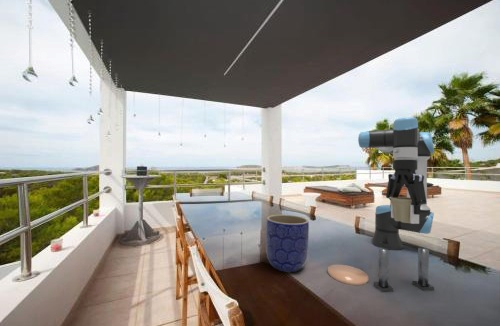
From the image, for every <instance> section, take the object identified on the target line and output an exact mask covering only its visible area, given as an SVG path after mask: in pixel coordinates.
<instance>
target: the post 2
mask: <svg viewBox="0 0 500 326" xmlns="http://www.w3.org/2000/svg"><path fill="white" fill-rule="evenodd" d="M429 272H430V249H428V248H426V247H420V246H419V247H417V280H412V285H414V286H415V287H416V288H418V289H420V290H421V291H425V292H427V291H428V292H429V291H430V292H431V291H435V286H433V285H431V284H430V273H429Z"/></svg>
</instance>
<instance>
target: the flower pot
mask: <svg viewBox="0 0 500 326" xmlns="http://www.w3.org/2000/svg"><path fill="white" fill-rule="evenodd" d="M389 198H390V199H391V202H392V207H393V214H394V220H395V221H401V222H403V223H410V205H411V203H412V200H411V198H408V197H407V196H398V197H389ZM389 198H388V199H389ZM390 199H389V200H390ZM416 201H417V200H416Z"/></svg>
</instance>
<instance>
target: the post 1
mask: <svg viewBox="0 0 500 326" xmlns="http://www.w3.org/2000/svg"><path fill="white" fill-rule="evenodd" d="M389 258H390V249H386V248H381V247H378V261H377V262H378V264H377V265H378V270H377V271H378V272H377V273H378V274H377V275H378V276H377V280H378V281H373V286H374V287H375V288H376V289H378V290H379V291H380V292H381V293H386V292H387V293H389V292H394V287H393V286H391V285H389V279H390V277H389V275H390V274H389V271H390V270H389V269H390V268H389V266H390V264H389V263H390V259H389Z"/></svg>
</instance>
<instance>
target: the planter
mask: <svg viewBox="0 0 500 326" xmlns="http://www.w3.org/2000/svg"><path fill="white" fill-rule="evenodd" d="M265 225H266V226H265V252H266V253H265V254H266V257H267V261H268V262H269V264H270V265H271V267H272V268H274V269H276V270H278V271H280V272H285V273H292V272H299V271H300V270H301V269H302V268H303V267H304V265H305V264H306V262H307V259H308V250H309V236H310V235H309V234H310V231H309V230H310V221H309V219H308V218H306V217H303V216H298V215H293V214H292V215H291V214H271V215H269V216H267V217H266V223H265Z"/></svg>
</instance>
